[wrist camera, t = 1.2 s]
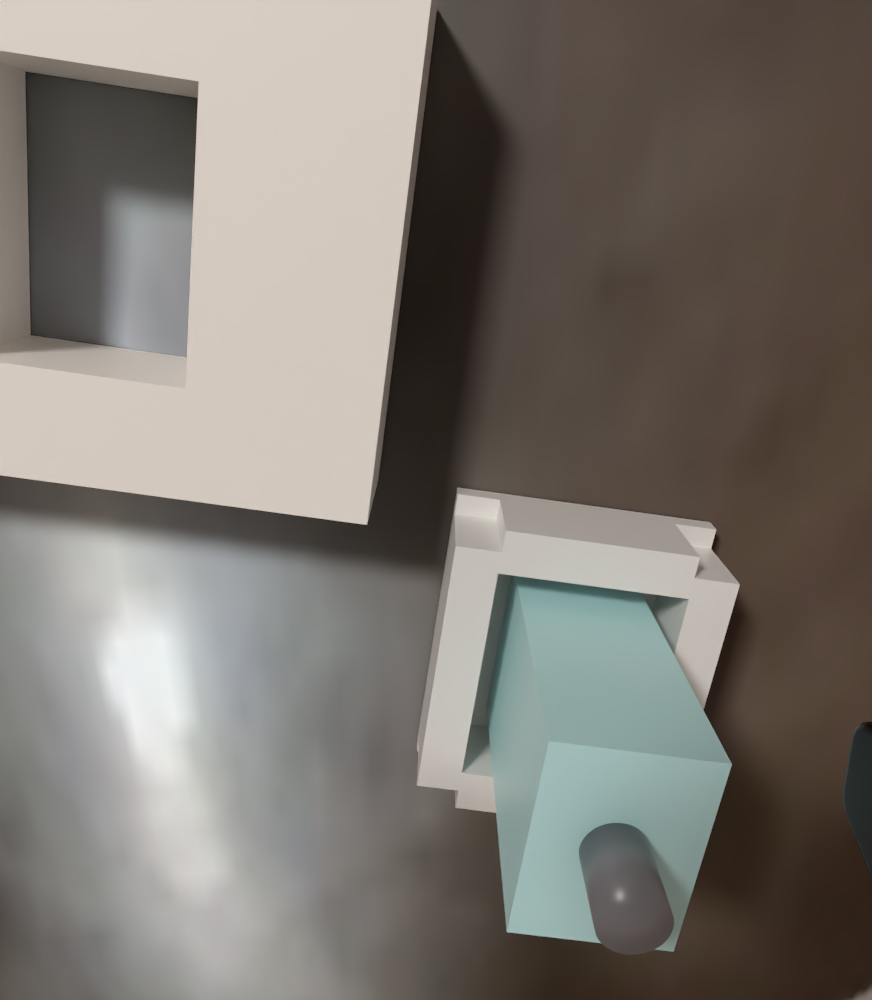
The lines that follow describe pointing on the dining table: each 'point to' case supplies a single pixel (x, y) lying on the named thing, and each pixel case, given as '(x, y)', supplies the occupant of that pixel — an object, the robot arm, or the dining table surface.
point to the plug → (597, 769)
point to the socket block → (232, 252)
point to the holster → (563, 558)
